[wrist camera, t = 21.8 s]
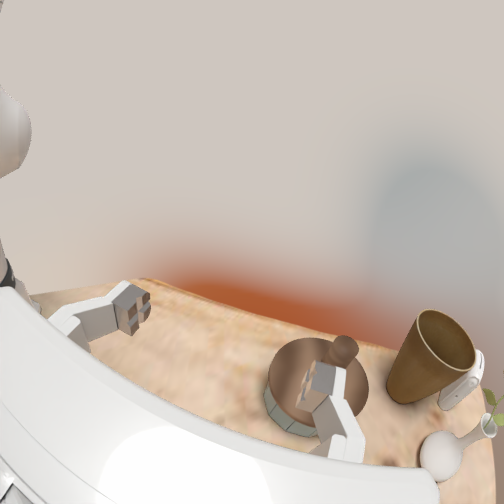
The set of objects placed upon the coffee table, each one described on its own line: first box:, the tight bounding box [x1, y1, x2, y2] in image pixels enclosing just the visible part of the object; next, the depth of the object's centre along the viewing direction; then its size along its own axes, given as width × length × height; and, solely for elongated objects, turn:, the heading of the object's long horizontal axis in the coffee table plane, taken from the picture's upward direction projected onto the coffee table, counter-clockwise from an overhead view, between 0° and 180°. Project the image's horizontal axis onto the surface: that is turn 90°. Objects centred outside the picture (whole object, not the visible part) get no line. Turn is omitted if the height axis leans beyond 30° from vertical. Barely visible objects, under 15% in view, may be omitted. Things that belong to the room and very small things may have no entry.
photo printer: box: [438, 350, 484, 410], centre depth 39 cm, size 10×4×12 cm, turn 135°
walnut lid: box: [268, 336, 369, 428], centre depth 35 cm, size 16×16×9 cm
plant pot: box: [387, 309, 476, 404], centre depth 40 cm, size 15×15×16 cm
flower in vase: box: [420, 371, 504, 482], centre depth 23 cm, size 13×11×25 cm
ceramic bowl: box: [264, 381, 318, 437], centre depth 39 cm, size 14×14×6 cm
